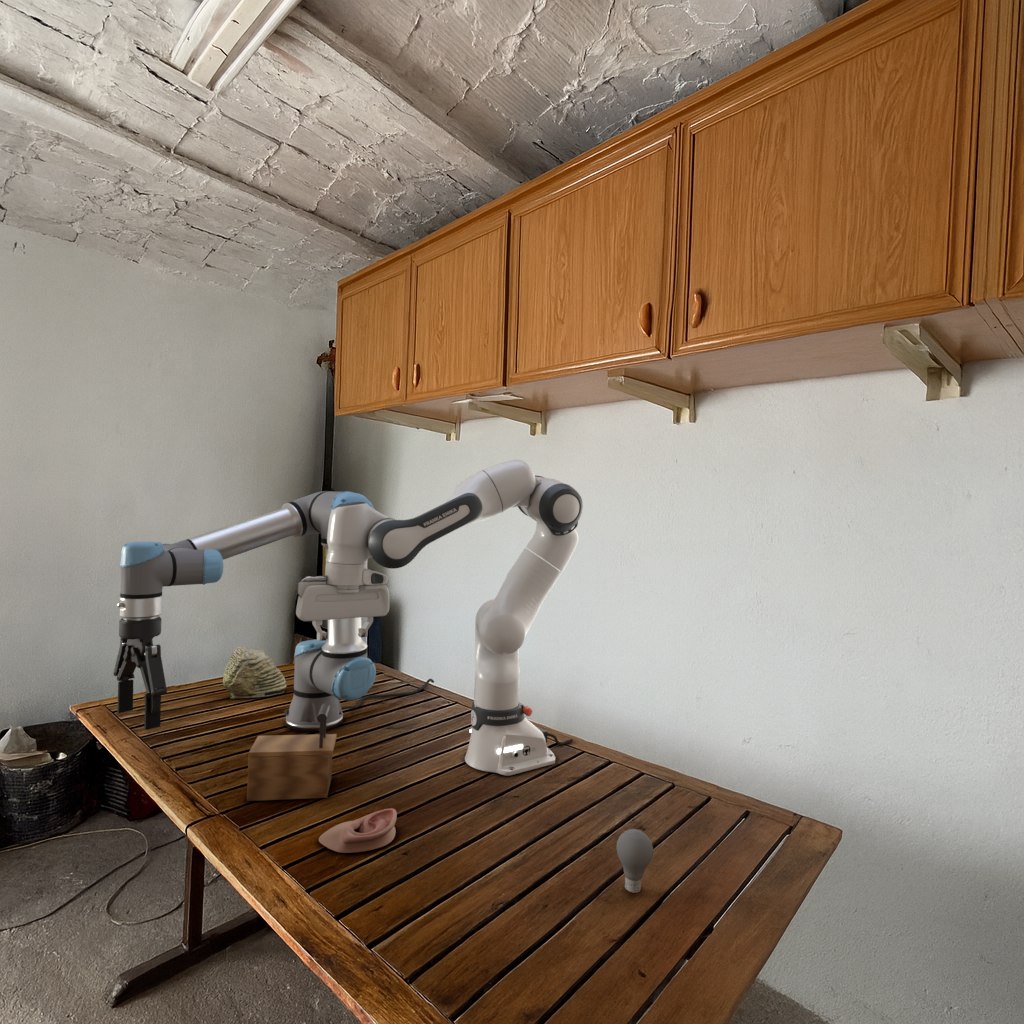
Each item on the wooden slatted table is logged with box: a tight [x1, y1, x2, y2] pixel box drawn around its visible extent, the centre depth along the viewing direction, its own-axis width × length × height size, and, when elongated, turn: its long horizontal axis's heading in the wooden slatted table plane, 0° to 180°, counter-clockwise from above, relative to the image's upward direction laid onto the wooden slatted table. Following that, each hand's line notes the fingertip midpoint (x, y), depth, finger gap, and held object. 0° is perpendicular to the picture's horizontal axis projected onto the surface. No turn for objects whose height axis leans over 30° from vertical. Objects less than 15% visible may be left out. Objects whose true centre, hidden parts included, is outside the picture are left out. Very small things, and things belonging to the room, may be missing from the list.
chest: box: [246, 754, 333, 802], centre depth 136 cm, size 16×9×9 cm, turn 101°
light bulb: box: [615, 828, 654, 894], centre depth 106 cm, size 6×6×10 cm
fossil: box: [222, 646, 288, 699], centre depth 198 cm, size 9×18×15 cm, turn 132°
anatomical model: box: [318, 807, 398, 854], centre depth 118 cm, size 13×4×12 cm
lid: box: [248, 703, 338, 758], centre depth 136 cm, size 17×9×8 cm, turn 101°
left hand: (138, 719), depth 131 cm, fingers open, 13 cm apart
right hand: (342, 638), depth 139 cm, fingers open, 8 cm apart
